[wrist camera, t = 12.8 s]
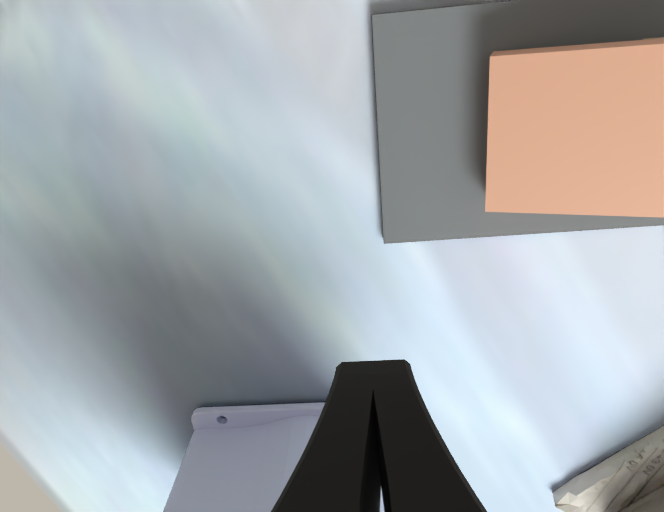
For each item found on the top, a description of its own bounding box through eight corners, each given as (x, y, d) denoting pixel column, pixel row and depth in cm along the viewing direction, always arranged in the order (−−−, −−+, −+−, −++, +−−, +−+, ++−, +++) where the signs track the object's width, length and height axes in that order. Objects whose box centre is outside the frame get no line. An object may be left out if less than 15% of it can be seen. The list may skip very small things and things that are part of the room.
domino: (485, 211, 17) (732, 219, 15) (489, 56, 15) (781, 35, 13) (488, 197, 18) (719, 202, 16) (493, 51, 16) (761, 30, 14)
